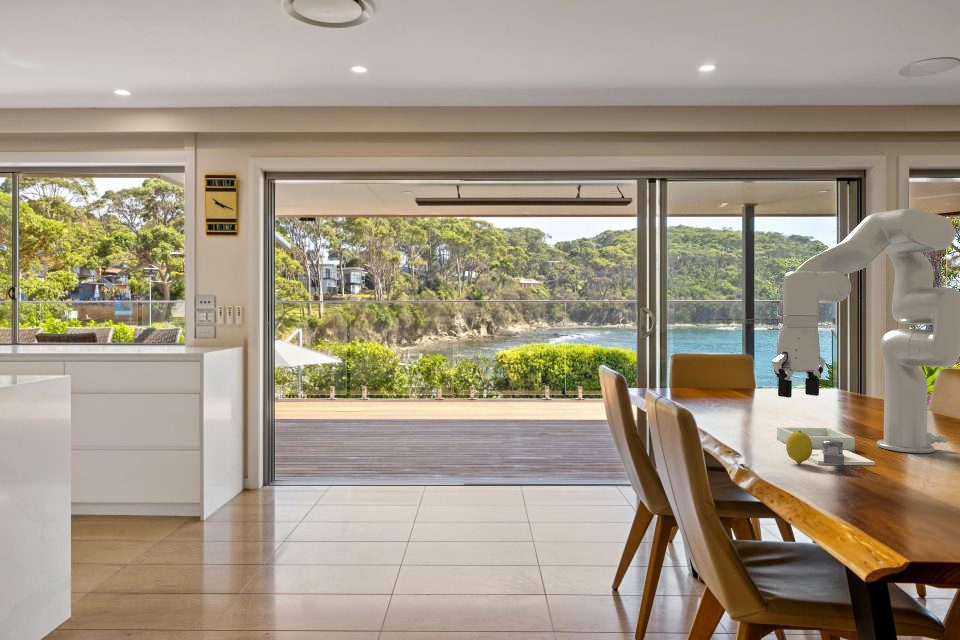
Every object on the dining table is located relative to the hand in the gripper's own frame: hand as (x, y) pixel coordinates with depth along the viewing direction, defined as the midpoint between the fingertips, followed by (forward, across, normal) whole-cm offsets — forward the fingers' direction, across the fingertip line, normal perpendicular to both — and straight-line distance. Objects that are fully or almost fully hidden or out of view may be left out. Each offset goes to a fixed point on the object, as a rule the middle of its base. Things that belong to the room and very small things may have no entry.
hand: (798, 396), depth 150 cm
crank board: (+16, -13, 0) cm, 21 cm away
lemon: (+16, -1, 0) cm, 16 cm away
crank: (+15, -8, +4) cm, 17 cm away
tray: (+16, -24, -12) cm, 31 cm away
